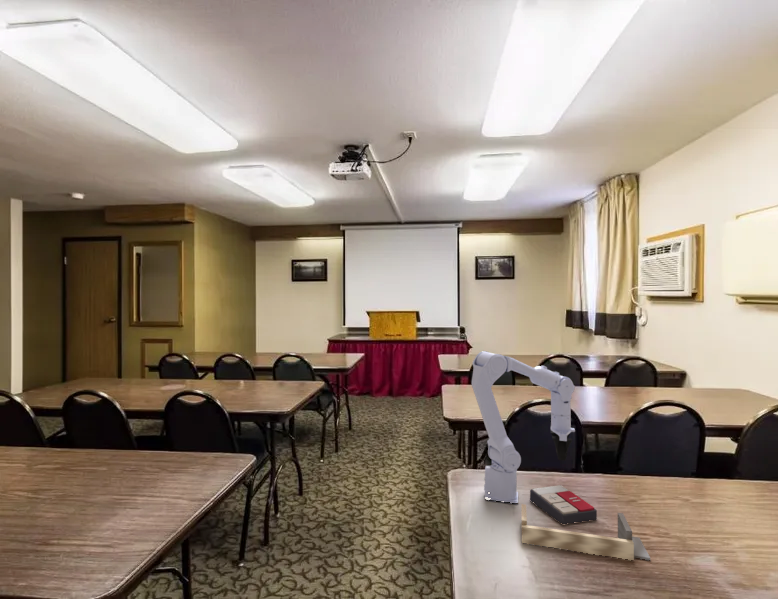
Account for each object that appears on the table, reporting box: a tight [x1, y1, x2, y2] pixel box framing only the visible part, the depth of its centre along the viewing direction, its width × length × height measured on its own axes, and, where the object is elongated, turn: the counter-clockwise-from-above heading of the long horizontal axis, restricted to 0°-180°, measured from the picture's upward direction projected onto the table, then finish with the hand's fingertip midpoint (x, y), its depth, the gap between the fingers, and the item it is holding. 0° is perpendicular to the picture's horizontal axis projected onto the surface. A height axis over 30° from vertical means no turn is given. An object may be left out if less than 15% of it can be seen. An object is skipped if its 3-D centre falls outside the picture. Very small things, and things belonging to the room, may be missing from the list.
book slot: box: [520, 503, 651, 561], centre depth 103 cm, size 28×10×6 cm, turn 73°
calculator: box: [529, 484, 598, 525], centre depth 120 cm, size 11×4×15 cm
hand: (561, 457), depth 132 cm, fingers open, 4 cm apart
